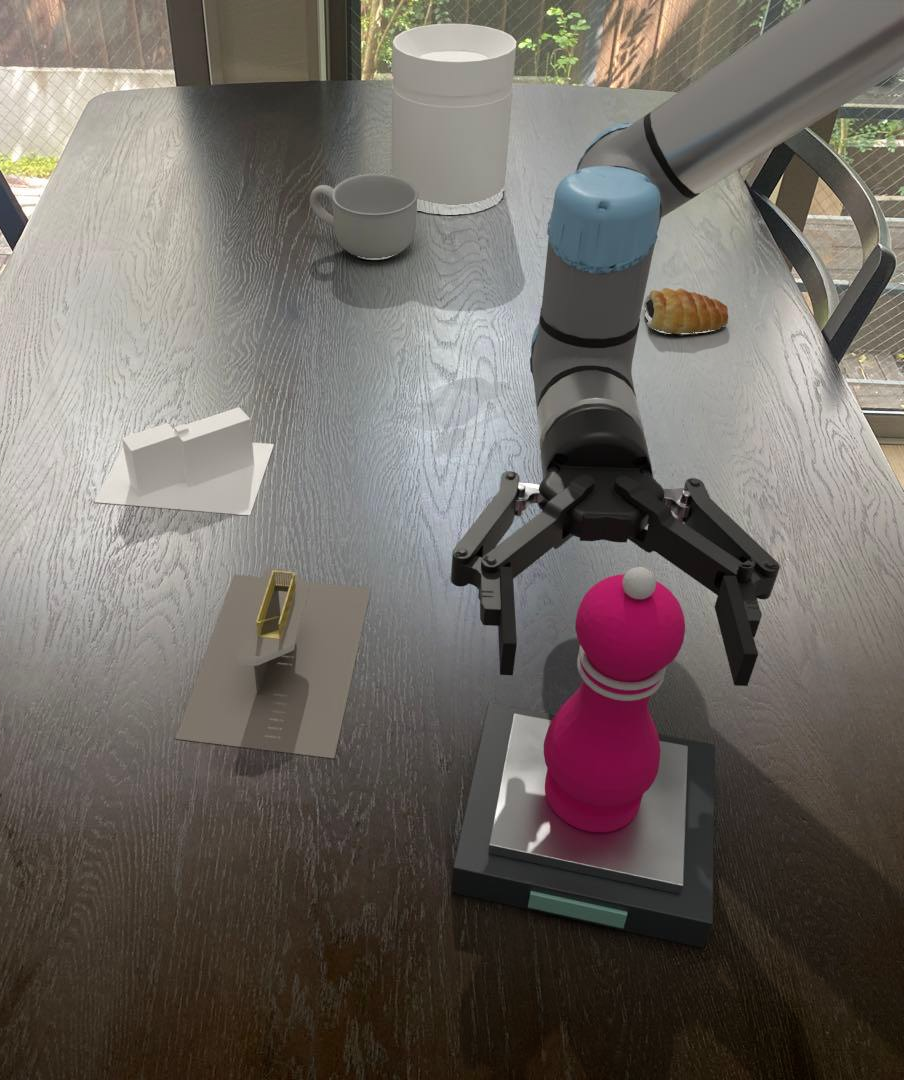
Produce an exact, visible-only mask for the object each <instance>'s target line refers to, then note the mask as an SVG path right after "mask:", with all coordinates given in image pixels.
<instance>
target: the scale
mask: <svg viewBox="0 0 904 1080" xmlns="http://www.w3.org/2000/svg"><path fill="white" fill-rule="evenodd" d="M514 714H519V715H525V716H530V717H535V718H541V719H546V720H551V721H552V719H553V718H554V716H555V715H556V714H554V713H548V712H544V711H543V712H542V711H537V710H532V709H527V708H521V707H517V706H516V707H515V706H510V705H505V704H499V703H495V702H488V703H487V705H486V711H485V716H484V720H483V725H482V729H481V735H480V739H479V744H478V748H477V754H476V759H475V762H474V768H473V772H472V777H471V781H470V786H469V790H468V795H467V800H466V804H465V810H464V813H463V819H462V824H461V828H460V833H459V837H458V841H457V842H458V843H457V847H456V852H455V855H454V860H453V865H452V872H451V873H452V874H451V885H450V886H451V887H450V892H451V893H452V894H456V895H460V896H464V897H470V898H474V899H477V900H478V899H479V900H484V901H488V902H492V903H498V904H501V905H506V906H511V907H515V908H520V909H524V910H529V911H532V912H538V913H542V914H547V915H551V916H555V917H561V918H563V919H569V920H574V921H578V922H581V923H582V922H583V923H587V924H591V925H597V926H601V927H605V928H610V929H614V930H619V931H623V932H627V933H632V934H637V935H642V936H647V937H649V938H650V937H651V938H655V939H660V940H663V941H664V940H665V941H669V942H672V943H678V944H683V945H687V946H691V947H695V948H700V949H704V947H705V945H706V942H707V939H708V937H709V936H710V932H711V929H712V927H713V925H714V876H715V875H714V871H715V869H714V864H715V863H714V862H715V859H714V858H715V846H714V845H715V775H716V774H715V770H716V769H715V768H716V767H715V765H716V763H715V762H716V761H715V760H716V759H715V758H716V745H715V744H714V743H709V742H704V741H697V740H693V739H687V738H682V737H676V736H671V735H665V734H661V733H658V736H659V741H663V742H668V743H674V744H679V745H684V746H688V759H687V789H686V819H685V849H684V879H683V888H682V891H681V893H680V894H677V893H672V892H668V891H663V890H658V889H654V888H649V887H644V886H639V885H635V884H630V883H625V882H621V881H616V880H611V879H607V878H602V877H597V876H593V875H588V874H583V873H578V872H574V871H569V870H564V869H560V868H555V867H550V866H546V865H541V864H536V863H532V862H527V861H522V860H517V859H513V858H508V857H503V856H499V855H494V854H489V853H488V850H489V843H490V838H491V832H492V827H493V822H494V816H495V811H496V806H497V801H498V795H499V790H500V785H501V779H502V774H503V769H504V764H505V758H506V753H507V748H508V742H509V737H510V732H511V727H512V721H513V716H514Z"/></svg>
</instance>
